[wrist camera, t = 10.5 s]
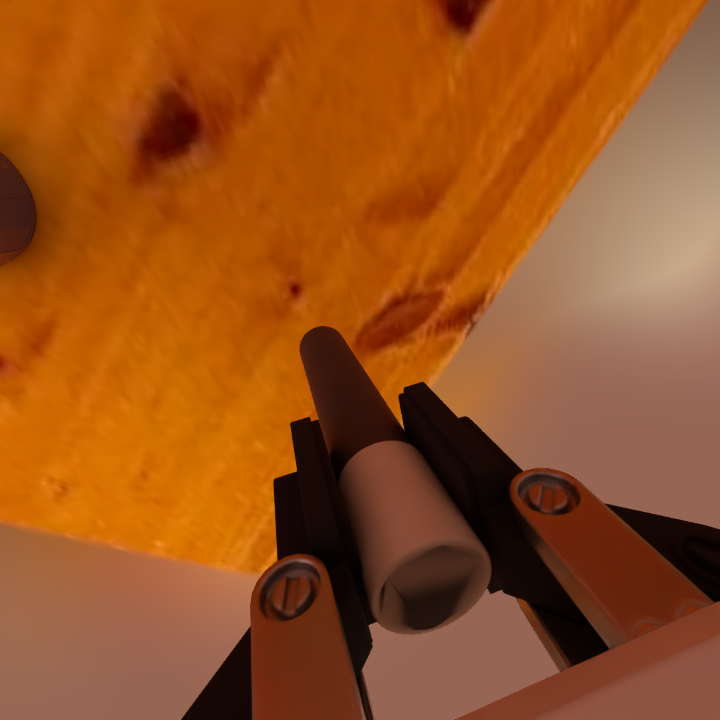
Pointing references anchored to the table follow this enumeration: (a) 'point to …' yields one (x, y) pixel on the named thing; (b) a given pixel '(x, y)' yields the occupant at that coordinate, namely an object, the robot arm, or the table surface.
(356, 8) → the table surface
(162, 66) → the table surface
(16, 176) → the pen cup
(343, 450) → the marker pen
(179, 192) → the table surface
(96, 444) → the table surface
